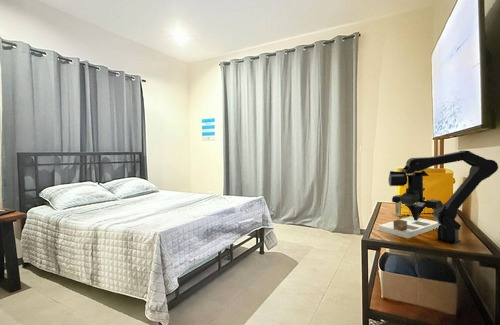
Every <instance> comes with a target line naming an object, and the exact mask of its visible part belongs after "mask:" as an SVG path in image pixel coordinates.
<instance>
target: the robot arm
mask: <svg viewBox="0 0 500 325" xmlns="http://www.w3.org/2000/svg"><path fill="white" fill-rule="evenodd" d="M461 161H463V162H464V163H465V164H467V165H469V166H471V167H470V169H469V171H468V175H467V177H466V178H465V179H464V180H463V182H462V183H461V184H460V185H459V186H458V188H457V189H456V190H455V191H454V193H453V194H452V195H451V196H450V197H449V199H448V200H447V201H446V202H445V203H443V202H442V201H441V200H440V199H439V200H438V199H434V198H433V199H431V200H427V201H424V200H425V197H423V191H424V190H425V188H426V187H424V177H428V176H429V174H428V173H427V172H426V171H425V170H427V169H429V168H431V167H433V166H439V165H445V164H450V163H455V162H456V163H457V162H461ZM498 169H499V164H498V163H497V162H496V161H495V160H494V159H488V158H485V157H483V156H481V155H478V154H475V153H474V152H471V150H464V149H463V150H458V151H455V152H451V153H450V152H449V153H445V154H440V155H434V156H429V157H425V156H424V157H410V158H409V159H407V161H406V163H405V165H404V167H403V168H402V170H401V171H396V170H395V171H393V170H391V171H389V175H388V184H389V187H405V185H407V187H406V189H405V192H404V193H402V194H398V195H397V194H396V195H397V196H395V195H393V196H392V197H391V202H392V203H399V202H400V201H401V203H402V204H405V206H407V207H408V208H409V212H410V213H411V216H412V217H413V218H414V220H416V221H417V220H418V218H420V216H421V214H422V213H421V212H422V211H423V209H424V208H425V207H427V208H432V209H433V214H432V217H433V219H434V220H435V221H436V222H438V223H439V224H440V225H439V228H437V229H436V230H437V233H436V234H437V235H436V236H437V237H436V241H441V242H444V243H448V244H452V245H455V244H457V243H460V242H461V240H462V239H460V238H459V237H460V236H459V235H460V232H459V231H460V229H461V227H462V225H461V224H460V222H458V221H456V218H457V215H458V211H459V208H460V207H462V205H463V203H465V201H466V200H467V199H468V198H469V197H470V195H471V194H472V193H473V192H474V191H475V189H477V187H478V186H479V185H480V184H481V182H482V181H485V180H487V179H489V178H490V177H491V176H493V175H494V174H495V173H496V172H497V171H498ZM415 203H416V204H415Z"/></svg>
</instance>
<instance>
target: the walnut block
mask: <svg viewBox="0 0 500 325" xmlns="http://www.w3.org/2000/svg"><path fill="white" fill-rule="evenodd" d="M392 221H393V222H394V229H396V230H399V231H404V230H407V221H404V220H399V219H396V220H392Z"/></svg>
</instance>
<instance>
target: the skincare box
mask: <svg viewBox="0 0 500 325" xmlns="http://www.w3.org/2000/svg"><path fill="white" fill-rule="evenodd" d="M394 196H397V194H396V195H394ZM394 203H395V202H394ZM394 206H395V207H394V208H395V216H397V217H399V216H401V208H402V207H401V201H400V202H399V203H395V205H394Z"/></svg>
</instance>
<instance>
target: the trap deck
mask: <svg viewBox="0 0 500 325" xmlns="http://www.w3.org/2000/svg"><path fill="white" fill-rule="evenodd" d="M399 220H404V221H407V230H404V231H399V230H396V229H394V222H393V221H394V220H392V221H390V222H386V223H383V224H382V223H381V224H378V225H377V226H378V231H380V232H384V233H387V234H391V235H394V236H398V237H401V238H405V239H411V238H413V237H416V236H419V234H420V235H422V234H425V233H427V232H428V233H429V232H430V231H434V230H437V229H438V227H439V225H440V224H439V223H438V221H437V220H431V219H426V218H421V217H419V218H418V220H417V221H416V220H414V218H413V216H412V215H410V216H406V217H403V218H400V219H399ZM436 228H437V229H436ZM433 229H434V230H433Z"/></svg>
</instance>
